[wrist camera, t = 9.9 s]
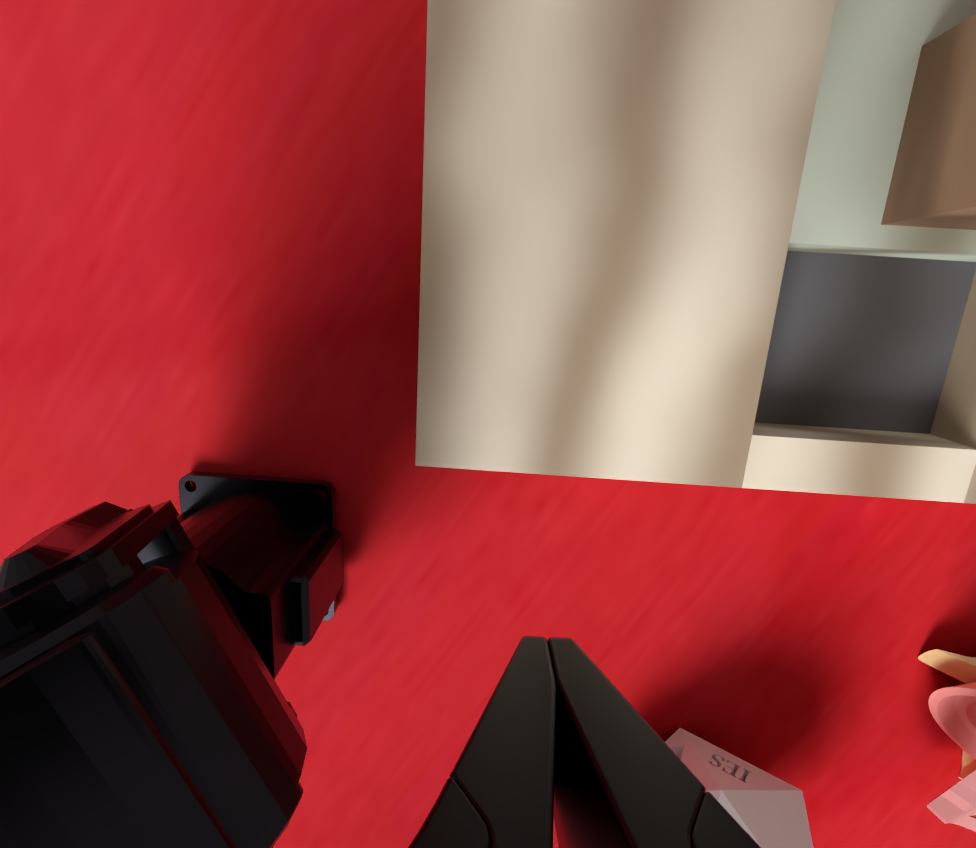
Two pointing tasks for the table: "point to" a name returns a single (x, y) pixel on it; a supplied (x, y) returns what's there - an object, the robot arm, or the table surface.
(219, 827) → the robot arm
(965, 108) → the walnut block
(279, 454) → the table surface
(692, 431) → the board
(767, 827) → the die
